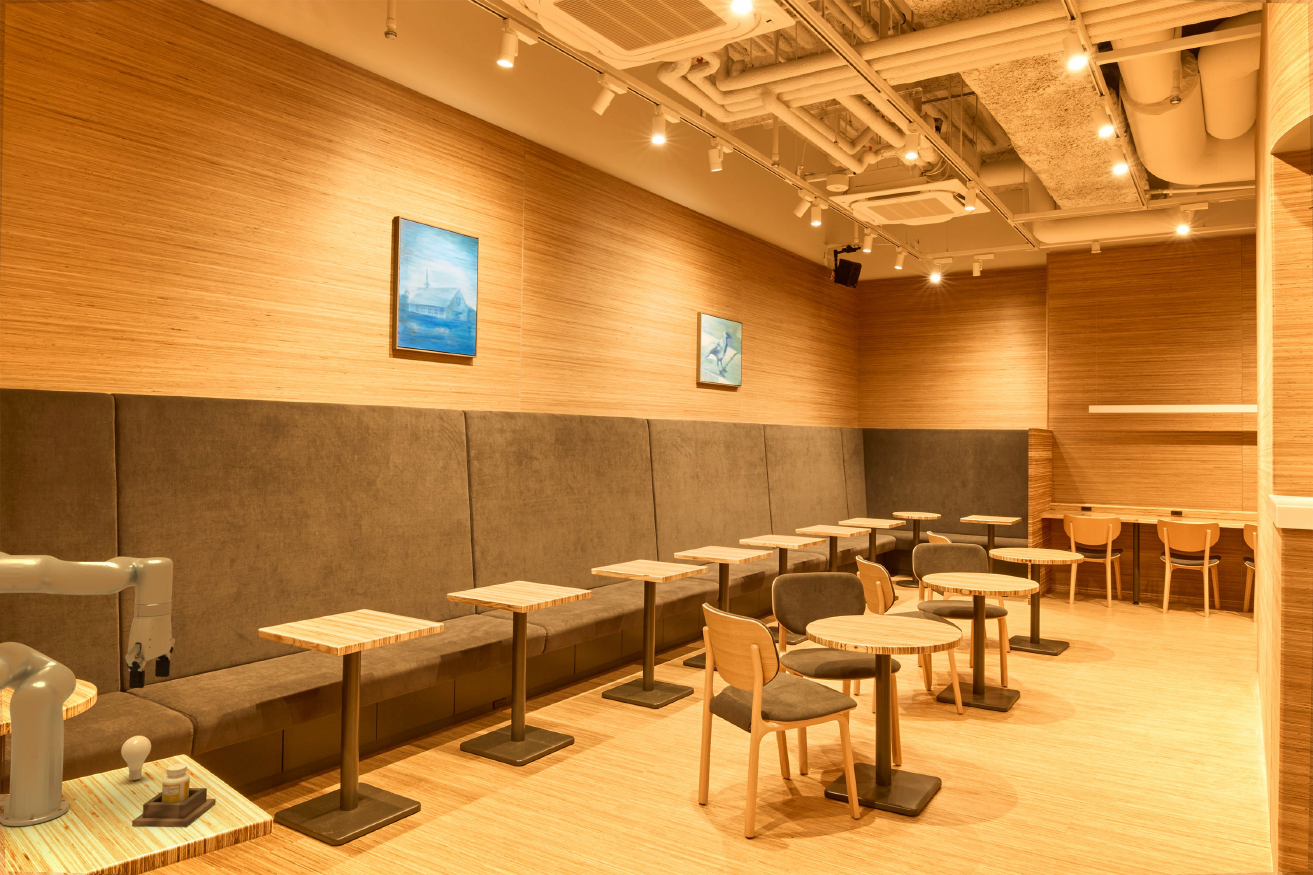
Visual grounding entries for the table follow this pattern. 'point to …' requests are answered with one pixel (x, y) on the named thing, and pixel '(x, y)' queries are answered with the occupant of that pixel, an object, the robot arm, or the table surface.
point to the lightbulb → (135, 755)
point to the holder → (174, 810)
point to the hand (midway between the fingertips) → (149, 681)
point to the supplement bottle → (176, 784)
